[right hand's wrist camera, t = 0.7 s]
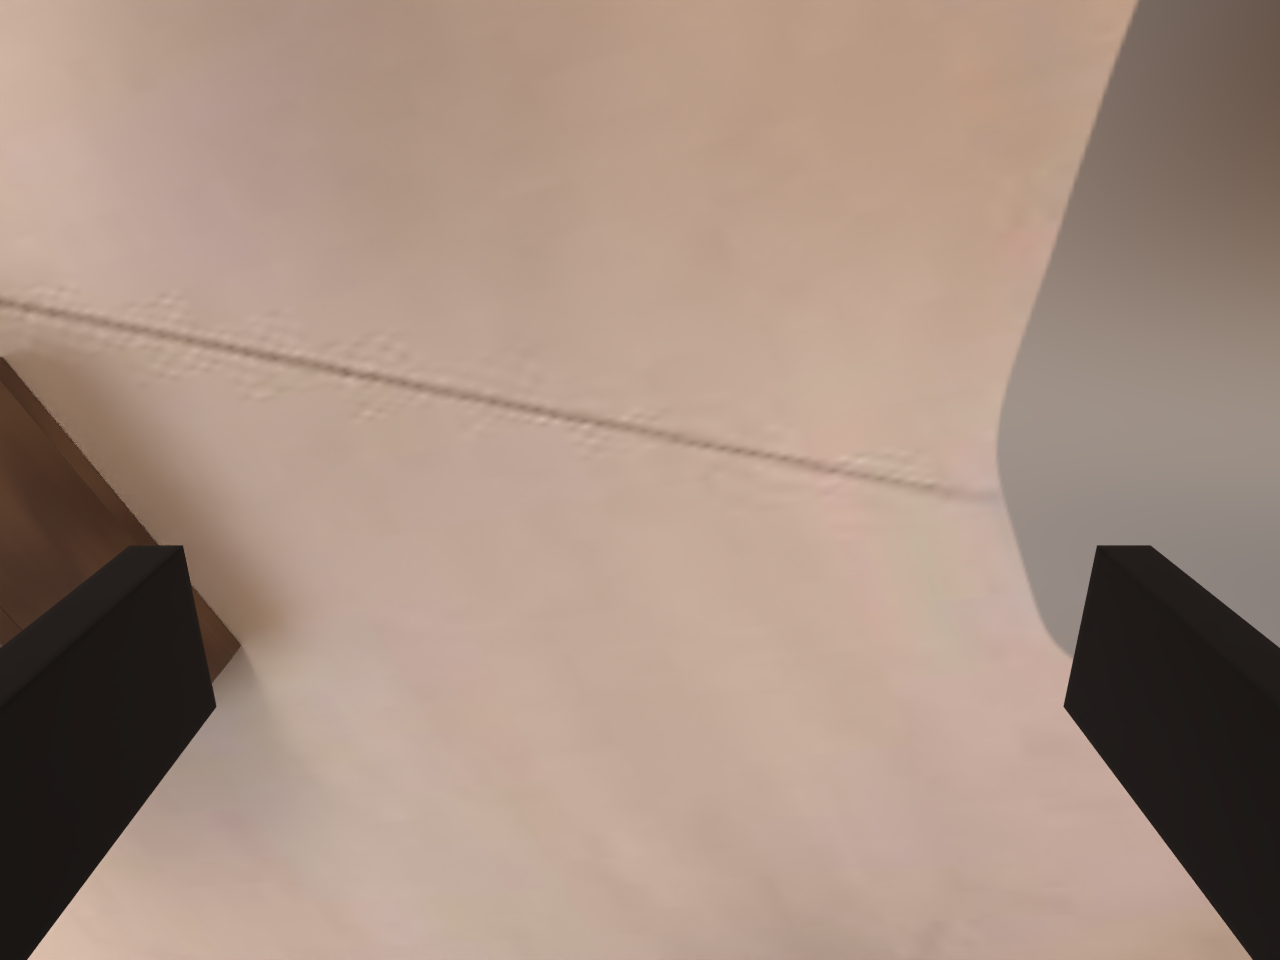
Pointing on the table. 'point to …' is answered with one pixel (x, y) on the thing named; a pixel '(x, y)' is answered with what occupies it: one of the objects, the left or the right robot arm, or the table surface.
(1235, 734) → the right robot arm
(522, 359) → the table surface
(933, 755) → the table surface
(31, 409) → the cabinet
